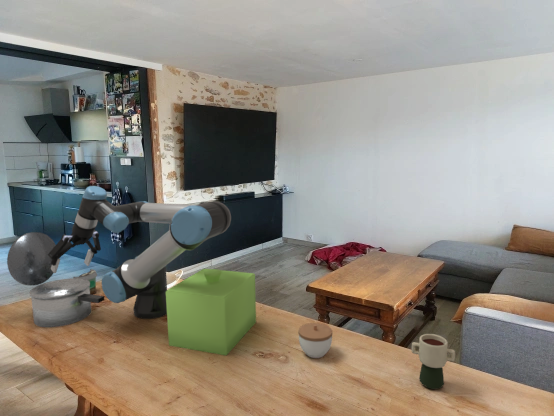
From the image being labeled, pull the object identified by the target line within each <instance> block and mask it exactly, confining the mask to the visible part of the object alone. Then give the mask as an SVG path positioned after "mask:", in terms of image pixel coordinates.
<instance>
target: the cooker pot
mask: <svg viewBox="0 0 554 416" xmlns="http://www.w3.org/2000/svg"><path fill="white" fill-rule="evenodd" d="M89 286H90V282H89V281H88V280H86V279H80V278H73V277H72V278H64V279H63V278H62V279H57V280H52V281H49V282H47V281H46V282H44V283H42V284H39V285H35V286H34V287H32V288H31V289H30V290H29V296H30V299H31V307H32V317H33V323H34V325H36V326H37V327H40V328H58V327H63V326H68V325H71V324H75V323H77V322H79V321H80V322H81V321H82V320H84V319H86V318H87V317H89V316H90V315H91V314H92V303H95V304H100V303H102V302H104V301H105V296H104V295H97V294H94V295H91V294H90V290H89Z"/></svg>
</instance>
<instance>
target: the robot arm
mask: <svg viewBox="0 0 554 416" xmlns="http://www.w3.org/2000/svg"><path fill="white" fill-rule="evenodd" d="M107 196H108V193H107V190H105V188H102V187H100V186H97V185H89V186H87V187H86V188H85V190H84V193H83V195H82V198H81V202H80V204H79V208H78V210H77V214H76V217H75V219H74V220H75V221H74V222H73V225H72V228H71V229H72V230H71V233H70V235H67V234H65V233H64V234H62V236H61V238H60V240H59V241H58V242H57V243H55V244H56V246H55V247H54V248H53V249H52V250H51V251H50V252H49V254H48V256H49V257H50V258H51V259H52V261H51V264H52V266H51V270H52V271H53V272H54V273H53V274H56V273H57V272H58V268H59V265H60V262H61V257H63V256H64V255H65V254H66V253H67V252H68V251H70V250H71V249H72V248H75V247H76V246H80V245H84V244H86V245H87V246H88V248H89V249H88V250H87V253H86V256H85V257H84V258H85V259H84V261H83V263H84V264H85V266H87V267H89V266H90V264H91V262H92V259H93V258H94V256H95V255H96V254H97V253H98V252H99V251H101V250H102V248H101V247H102V246H101V243H100V242H101V241H100V239H99V237H100V233H99V232H98V231H97V230H96V227H97V225H98V223H100V224H101V225H102V226H104V227H105V229H107V230H109V231H110V232H112V233H114V234H118V233H121V232H122V231H124V230H125V229H126V228H127V227H128V225H129V224H133V223H137V222H139V223H156V224H169V228H168V230H167V232H165V233H164V234H163V235H161V237H159V238H158V239H157V240H156V241H155V242H154V243H152V244H151V245H150V246H149V247H147V248H146V249H145V250H144V251H143V252H141V253H140V254H139V255H136V256H135V257H134V258H133V259H131V258H130V259H127V260H125V261H124V262H122V264H121V265H119V266H118V267H117V268H115V269H113V270H110V271H108V272H107V273H104V275H103V276H102V277H101V289H102V291H103V293H104V295H105V296H104V297H106V298H107V299H108V300H109V301H110V302H112V303H113V304H119V303H122V302H125V301H127V300H130V299H131V298H133V297H136V298H135V302H134V305H133V316H134V317H136V318H138V319H142V320H151V319H157V318H161V317H165V316H167V305H166V291H167V290H168V285H167V284H168V283H167V282H168V281H167V265H169V264H170V263H171V262H172V261H174V260H175V259H176V258H178V257H179V256H180V255H181V254H182V253H184V252H185V251H194V250H195V249H196V248H198V247H199V246H200V245H201V244H203V243H204V242H206V241H207V240H209V239H211V238H213V237H216V236H219V235H221V234H223V233H224V232H226V231H227V230H228V228H229V227H230V225H231V221H232V215H231V211H230V209H229V208H228V206H227V205H225V204H224V203H222V202H220V201H217V200H216V201H215V200H214V201H201V202H199V203H198V204H192V203H191V204H188V203H187V204H186V203H163V202H161V203H160V202H158V203H156V202H148V201H145V200H144V201H140V200H139V201H136V202H132V203H126V204H121V205H120V204H119V205H113V204H112V203H110V201H108V200H107ZM91 238H92V240H93V243H94V244H92V242H91V241H90V240H91Z"/></svg>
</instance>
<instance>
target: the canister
mask: <svg viewBox="0 0 554 416" xmlns="http://www.w3.org/2000/svg"><path fill="white" fill-rule="evenodd" d="M256 299H257V297H256V274H255V273H253V272H245V271H244V272H243V271H234V270H233V271H232V270H224V269H223V270H222V269H218V268H202V269H200V270H199V271H197V272H196V273H193V274H192V275H190V276H189V277H187V278H185V279H183V280H181V281H180V282H179V283H177V284H175V285H173V286H171V287H170V288H167V291H166V305H167V315H166V317H167V320H166V321H167V335H168V336H167V337H168V338H167V339H168V346H169V347H176V348H179V349H181V348H182V349H187V350H192V351H193V350H194V351H197V352H204V353H209V354H215V355H221V356H227V355H229V354H230V352H231V351H232V350H233V349H234V348H235V347H236V346H237V344H239V342H240V341H241V340H242V339H243V337H245V336H246V335H247V333H248V332H249V331H250V330H251V329H252V328H253V327H254V325H255V324H256V323H257V312H256V311H257V308H256V307H257V303H256Z"/></svg>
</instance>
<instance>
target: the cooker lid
mask: <svg viewBox="0 0 554 416" xmlns="http://www.w3.org/2000/svg"><path fill="white" fill-rule="evenodd" d="M56 244H57V243H56V242H55V241H54V240H53V239H52V238H51V237H50V236H49V235H48V234H45V233H43V232H36V231H34V232H33V231H32V232H27V233H24V234H22V235H21V236H19V237H18V238H16V239H15V240H14V242H13V243H12V244H11V246H10V248H9V250H8V253H7V259H6V260H7V261H6V263H7V270H8V272H9V274H10V276H11V277H12V278H13V279H14V281H15V282H17V283H18V284H21V285H23V286H32V287H33V286H38V285H41V284H44V283H46V282H47V281H48V280H49V279H51V278H52V277H53V275H54V274H55V273H54V272H53V271H52V270H51V266H52V264H51V261H52V259H51V258H50V257H49V256H48V254H49V252H50V251H51V250H52V249H53V248H54V247H55V246H56Z"/></svg>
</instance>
